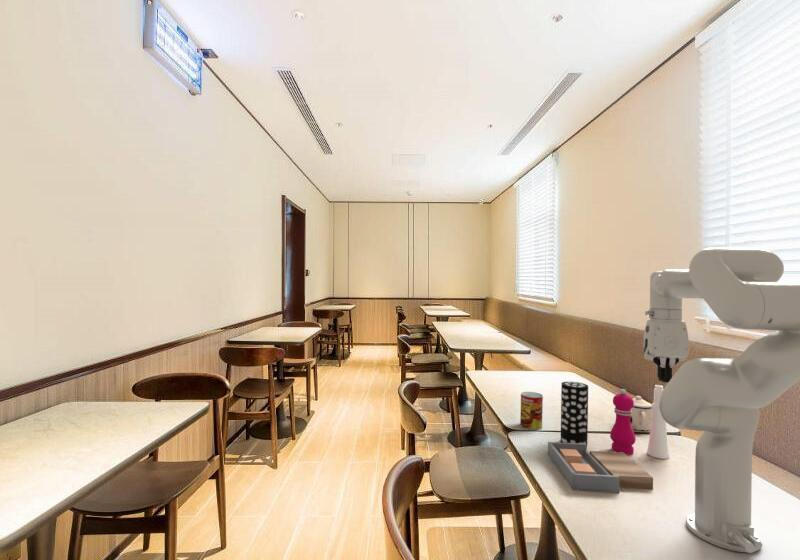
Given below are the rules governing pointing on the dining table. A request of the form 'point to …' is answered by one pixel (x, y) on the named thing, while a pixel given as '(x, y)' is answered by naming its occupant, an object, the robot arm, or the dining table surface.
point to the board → (624, 469)
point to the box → (583, 482)
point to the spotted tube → (574, 412)
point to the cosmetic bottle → (657, 429)
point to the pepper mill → (623, 424)
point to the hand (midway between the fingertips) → (664, 381)
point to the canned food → (531, 410)
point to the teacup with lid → (641, 414)
